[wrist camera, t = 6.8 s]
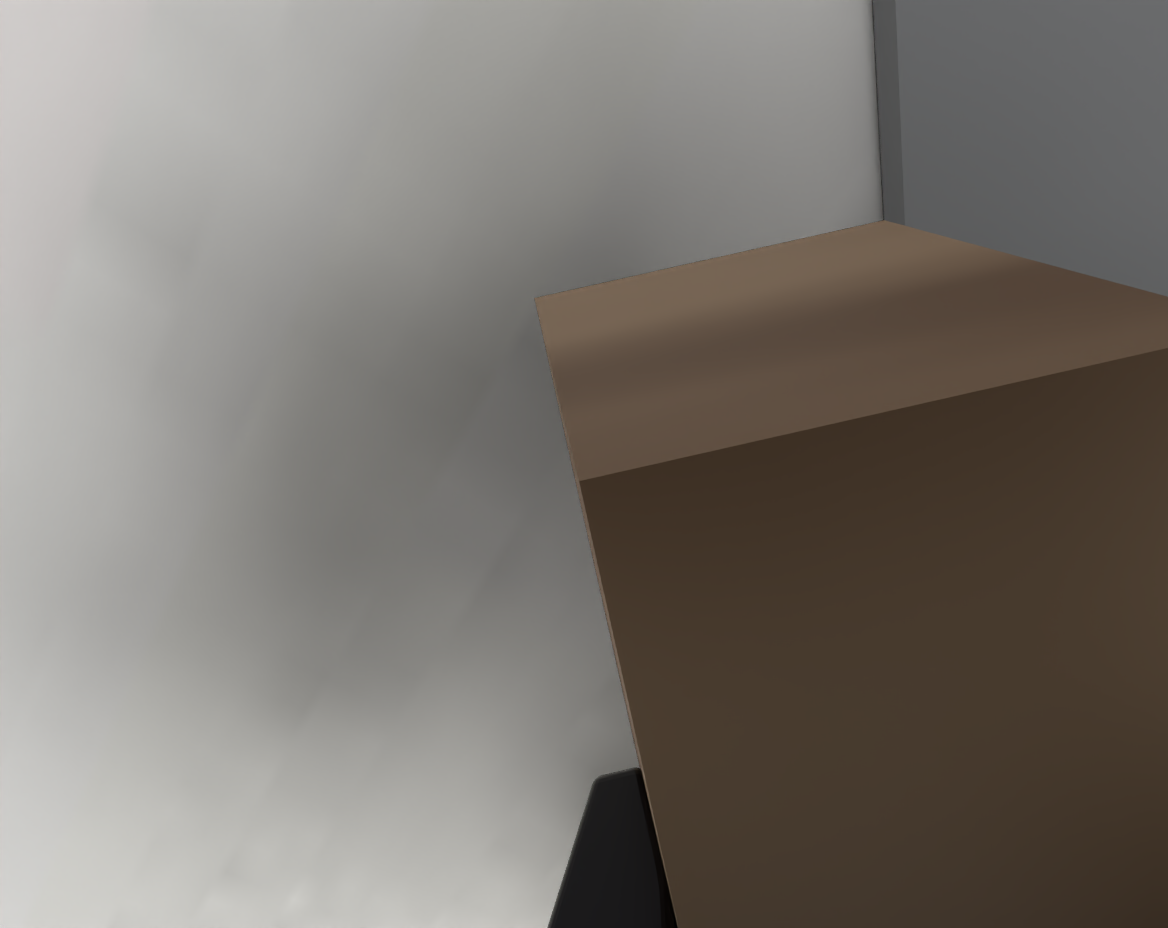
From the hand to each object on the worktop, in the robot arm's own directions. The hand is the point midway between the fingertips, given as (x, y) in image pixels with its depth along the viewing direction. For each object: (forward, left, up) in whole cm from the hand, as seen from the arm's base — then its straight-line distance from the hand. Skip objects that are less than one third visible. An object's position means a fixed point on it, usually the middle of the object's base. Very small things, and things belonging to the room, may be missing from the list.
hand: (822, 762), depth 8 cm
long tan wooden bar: (0, +6, -1) cm, 6 cm away
